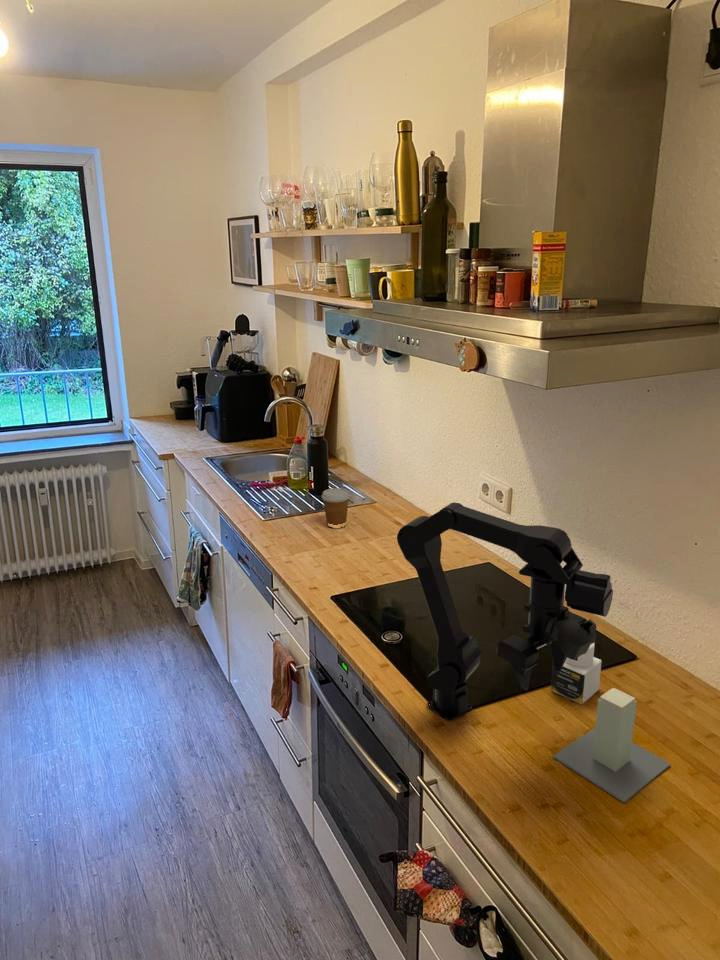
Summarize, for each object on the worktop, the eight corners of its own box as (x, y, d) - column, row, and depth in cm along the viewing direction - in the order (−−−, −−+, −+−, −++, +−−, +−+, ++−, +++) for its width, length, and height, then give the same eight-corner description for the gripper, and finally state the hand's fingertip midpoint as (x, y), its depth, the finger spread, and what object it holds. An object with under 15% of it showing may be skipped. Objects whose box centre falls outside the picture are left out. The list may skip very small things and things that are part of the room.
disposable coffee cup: (316, 527, 234) (315, 493, 231) (334, 518, 242) (333, 486, 238) (338, 532, 229) (337, 498, 225) (356, 524, 236) (355, 490, 233)
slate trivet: (553, 757, 123) (553, 755, 123) (599, 726, 131) (600, 724, 131) (624, 803, 112) (624, 801, 112) (670, 765, 120) (670, 763, 120)
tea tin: (592, 758, 122) (598, 696, 118) (606, 747, 124) (613, 686, 121) (615, 772, 118) (622, 708, 115) (630, 760, 121) (636, 698, 117)
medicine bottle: (550, 690, 142) (553, 638, 138) (567, 676, 147) (571, 626, 143) (582, 705, 137) (586, 652, 133) (599, 690, 142) (604, 638, 138)
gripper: (550, 636, 108) (544, 722, 112) (619, 601, 119) (611, 680, 123) (496, 610, 116) (493, 691, 121) (565, 580, 127) (560, 655, 132)
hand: (541, 679), depth 124 cm, fingers open, 9 cm apart
